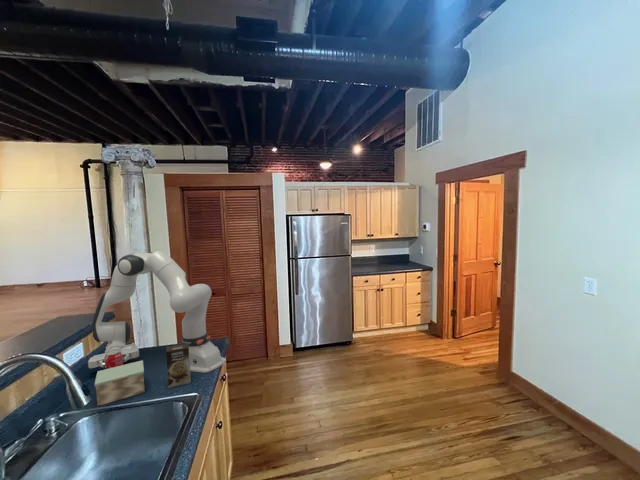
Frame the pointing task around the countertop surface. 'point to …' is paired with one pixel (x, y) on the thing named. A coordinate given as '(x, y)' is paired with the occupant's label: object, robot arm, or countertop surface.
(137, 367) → the box lid
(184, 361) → the coffee box
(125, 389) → the storage box
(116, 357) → the soda can
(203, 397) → the countertop surface
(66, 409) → the countertop surface
